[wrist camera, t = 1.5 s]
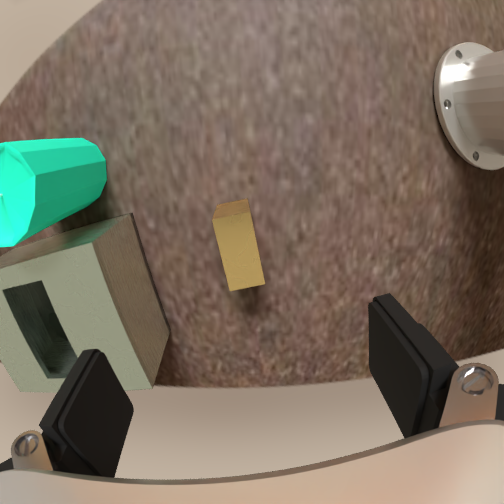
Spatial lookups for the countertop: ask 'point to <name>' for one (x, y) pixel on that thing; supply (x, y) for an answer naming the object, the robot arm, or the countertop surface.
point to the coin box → (81, 307)
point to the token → (238, 244)
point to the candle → (46, 184)
